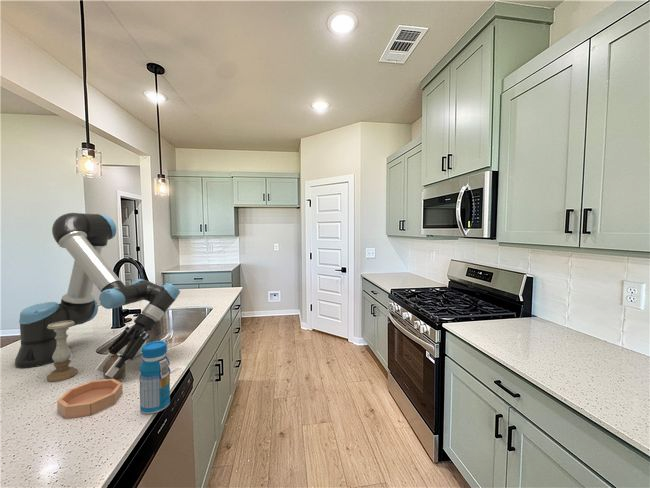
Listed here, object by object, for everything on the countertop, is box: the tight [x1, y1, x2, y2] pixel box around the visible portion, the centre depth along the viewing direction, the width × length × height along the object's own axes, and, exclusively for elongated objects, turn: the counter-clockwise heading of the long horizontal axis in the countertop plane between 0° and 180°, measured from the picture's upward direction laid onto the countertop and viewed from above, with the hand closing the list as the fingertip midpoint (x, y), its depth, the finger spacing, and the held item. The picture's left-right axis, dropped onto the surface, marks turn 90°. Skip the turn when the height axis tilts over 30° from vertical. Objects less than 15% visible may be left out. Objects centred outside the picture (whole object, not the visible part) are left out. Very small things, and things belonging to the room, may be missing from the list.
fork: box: [170, 358, 191, 374], centre depth 110 cm, size 3×20×2 cm, turn 162°
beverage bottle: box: [138, 340, 171, 415], centre depth 89 cm, size 8×8×20 cm
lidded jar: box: [118, 340, 147, 358], centre depth 126 cm, size 11×11×9 cm
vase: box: [102, 353, 127, 381], centre depth 105 cm, size 7×7×9 cm
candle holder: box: [46, 321, 79, 383], centre depth 107 cm, size 9×9×20 cm
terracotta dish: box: [56, 378, 123, 419], centre depth 91 cm, size 15×15×4 cm
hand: (103, 373), depth 102 cm, fingers closed on vase, 7 cm apart
